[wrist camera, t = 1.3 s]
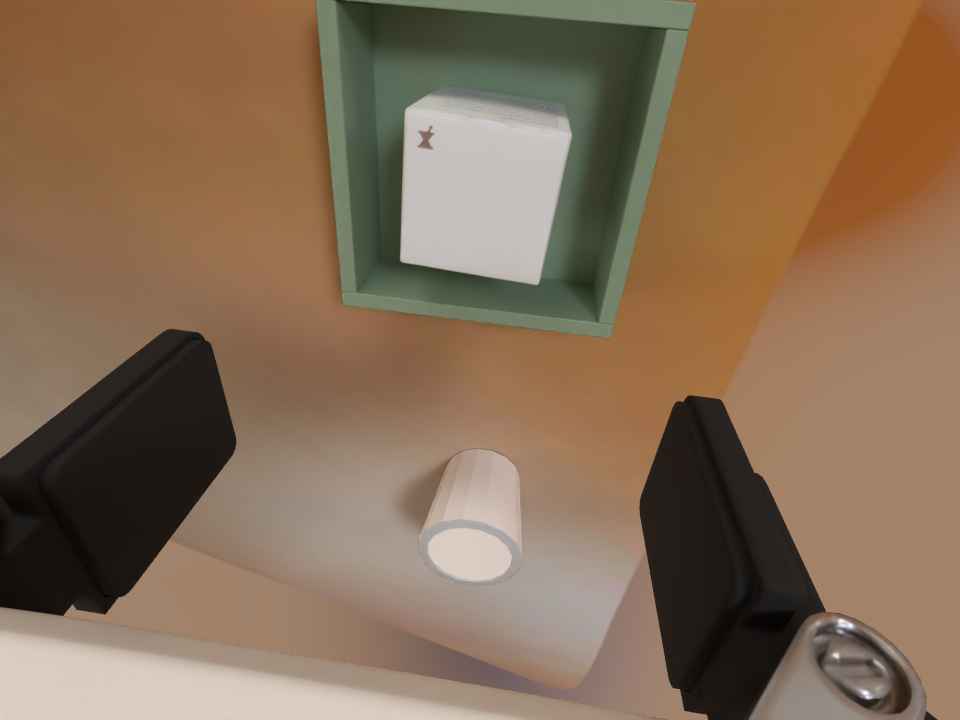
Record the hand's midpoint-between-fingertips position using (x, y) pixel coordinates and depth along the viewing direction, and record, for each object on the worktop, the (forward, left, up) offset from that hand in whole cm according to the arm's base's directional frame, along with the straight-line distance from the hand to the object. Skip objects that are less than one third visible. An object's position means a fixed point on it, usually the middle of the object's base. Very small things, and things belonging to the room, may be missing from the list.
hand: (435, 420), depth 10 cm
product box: (-1, -1, -19) cm, 19 cm away
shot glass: (+22, 0, -19) cm, 29 cm away
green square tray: (-1, -1, -19) cm, 19 cm away
